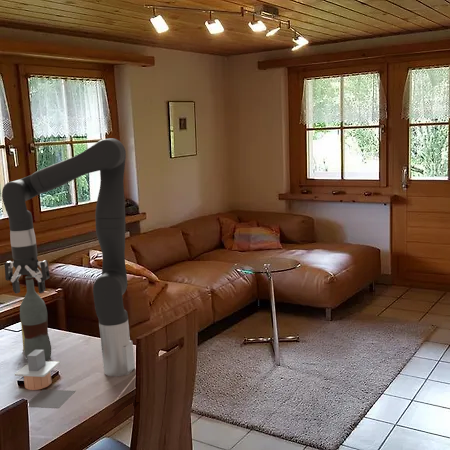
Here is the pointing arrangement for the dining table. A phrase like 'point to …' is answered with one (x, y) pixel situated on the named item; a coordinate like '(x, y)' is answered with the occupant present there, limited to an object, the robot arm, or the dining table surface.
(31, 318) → the bottle
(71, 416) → the dining table surface
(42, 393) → the mat
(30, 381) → the bowl
